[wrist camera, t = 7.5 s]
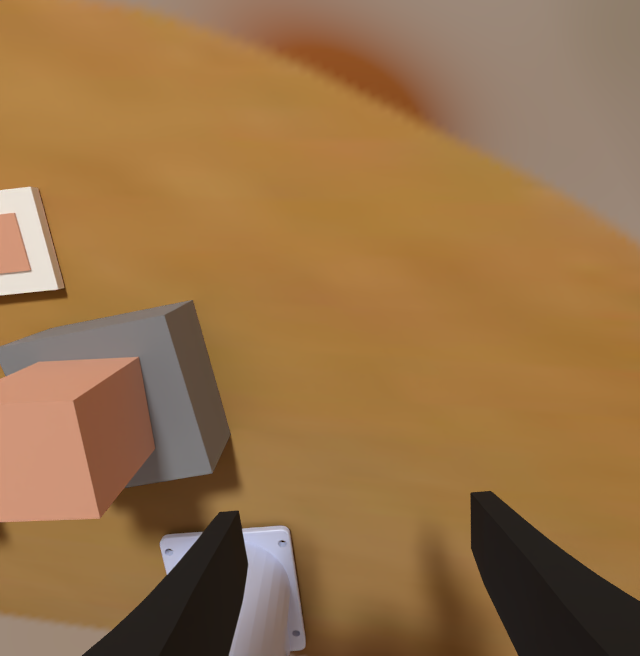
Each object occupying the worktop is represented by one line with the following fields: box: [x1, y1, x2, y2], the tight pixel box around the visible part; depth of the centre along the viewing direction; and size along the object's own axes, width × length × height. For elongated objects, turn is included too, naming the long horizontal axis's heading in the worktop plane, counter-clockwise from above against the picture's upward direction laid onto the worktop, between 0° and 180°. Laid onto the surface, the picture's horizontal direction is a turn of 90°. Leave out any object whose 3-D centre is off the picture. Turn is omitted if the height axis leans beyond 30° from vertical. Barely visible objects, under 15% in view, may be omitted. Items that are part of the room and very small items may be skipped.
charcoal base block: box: [0, 300, 231, 488], centre depth 20 cm, size 8×8×4 cm
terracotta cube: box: [0, 357, 155, 522], centre depth 16 cm, size 5×5×5 cm
